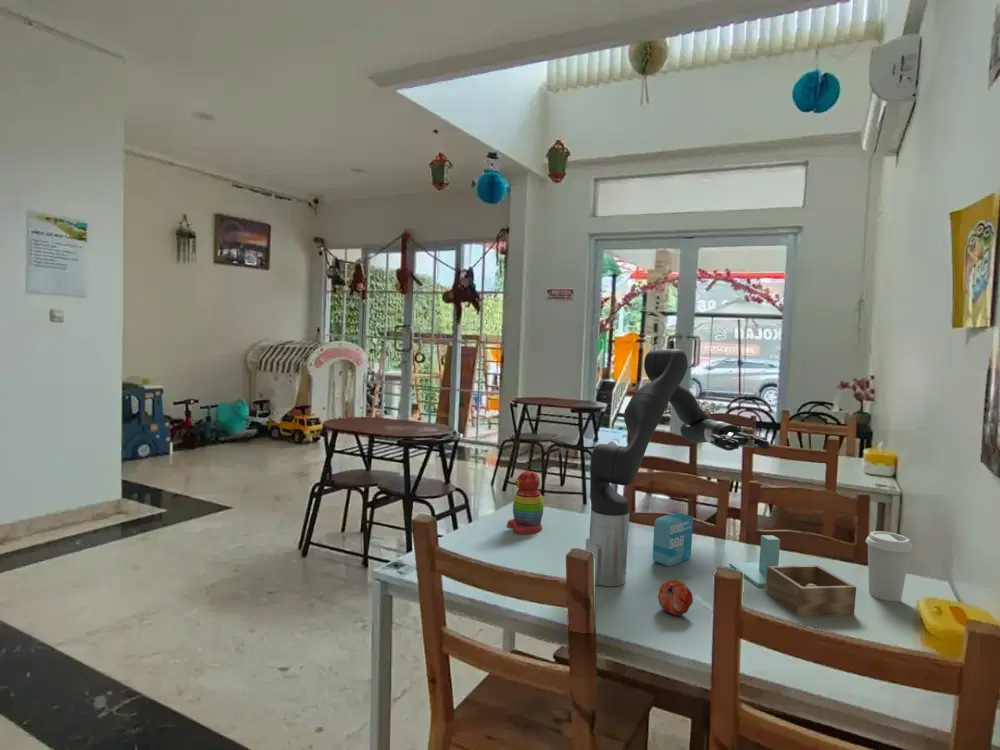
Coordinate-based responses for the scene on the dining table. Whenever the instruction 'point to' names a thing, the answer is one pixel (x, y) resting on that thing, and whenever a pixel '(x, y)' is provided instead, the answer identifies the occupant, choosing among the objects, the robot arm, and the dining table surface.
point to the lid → (761, 561)
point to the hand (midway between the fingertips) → (752, 445)
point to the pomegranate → (675, 597)
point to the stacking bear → (527, 505)
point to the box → (810, 590)
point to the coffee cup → (887, 564)
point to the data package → (672, 538)
